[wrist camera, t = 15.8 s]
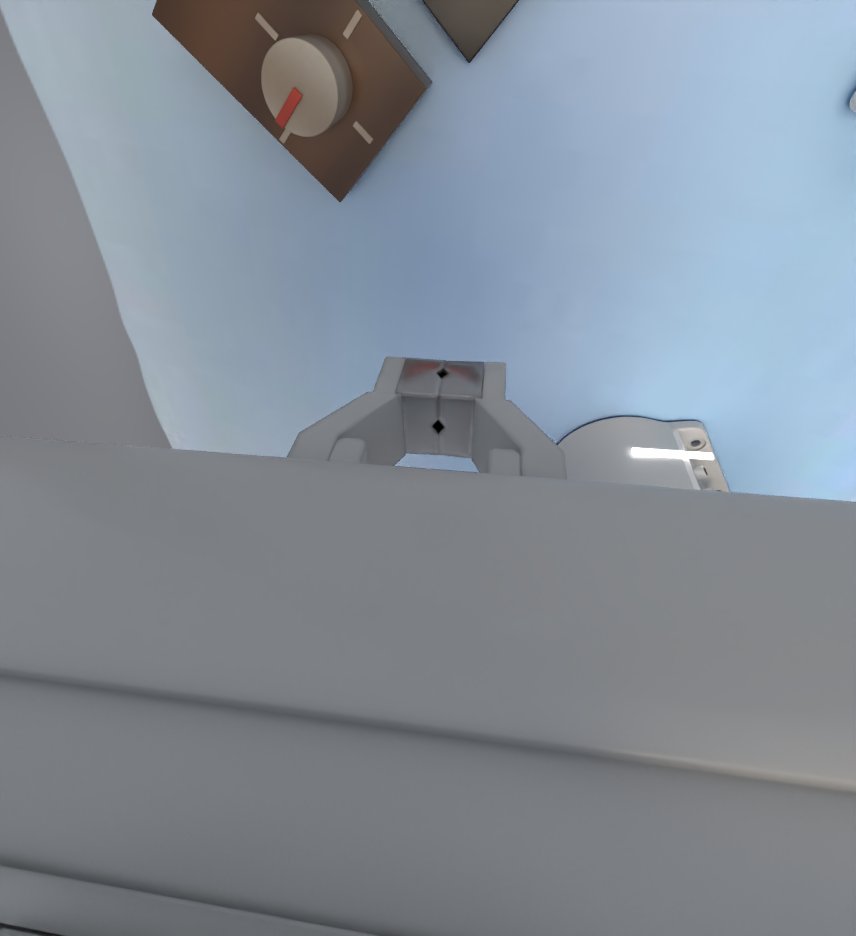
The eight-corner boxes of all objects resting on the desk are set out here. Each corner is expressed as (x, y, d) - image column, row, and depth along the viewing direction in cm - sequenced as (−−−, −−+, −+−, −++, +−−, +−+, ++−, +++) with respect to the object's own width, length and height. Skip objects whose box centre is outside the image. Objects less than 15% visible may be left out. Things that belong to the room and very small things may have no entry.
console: (432, 82, 31) (426, 88, 29) (350, 190, 36) (339, 203, 34) (242, -158, 25) (216, -173, 23) (176, 13, 30) (149, 14, 28)
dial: (306, 12, 27) (284, 13, 24) (367, 80, 29) (352, 89, 26) (269, 83, 30) (244, 92, 27) (327, 142, 31) (309, 156, 29)
